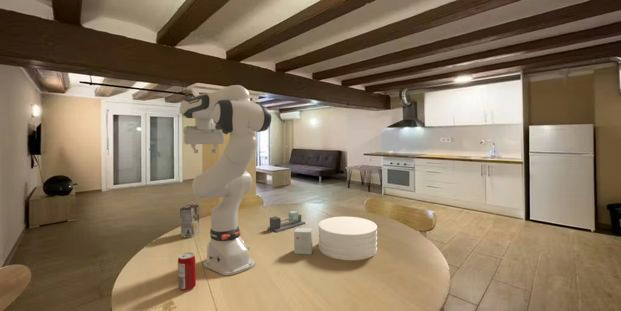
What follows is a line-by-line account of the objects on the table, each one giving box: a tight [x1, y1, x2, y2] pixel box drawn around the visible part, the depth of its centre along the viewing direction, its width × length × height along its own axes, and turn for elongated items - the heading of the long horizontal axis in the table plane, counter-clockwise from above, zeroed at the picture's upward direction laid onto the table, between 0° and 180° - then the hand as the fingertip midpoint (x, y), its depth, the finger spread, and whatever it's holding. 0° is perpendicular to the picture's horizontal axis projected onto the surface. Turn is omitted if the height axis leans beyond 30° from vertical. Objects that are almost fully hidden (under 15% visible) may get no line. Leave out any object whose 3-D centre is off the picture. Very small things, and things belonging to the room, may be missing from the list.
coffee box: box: [179, 204, 201, 238], centre depth 146 cm, size 9×6×16 cm
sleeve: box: [288, 210, 299, 222], centre depth 164 cm, size 4×4×6 cm
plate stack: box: [318, 216, 378, 261], centre depth 128 cm, size 28×28×12 cm
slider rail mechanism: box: [267, 213, 306, 233], centre depth 160 cm, size 9×22×7 cm, turn 134°
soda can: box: [177, 252, 197, 292], centre depth 93 cm, size 6×6×12 cm
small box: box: [293, 227, 313, 255], centre depth 123 cm, size 8×6×10 cm
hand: (205, 152), depth 137 cm, fingers open, 8 cm apart
